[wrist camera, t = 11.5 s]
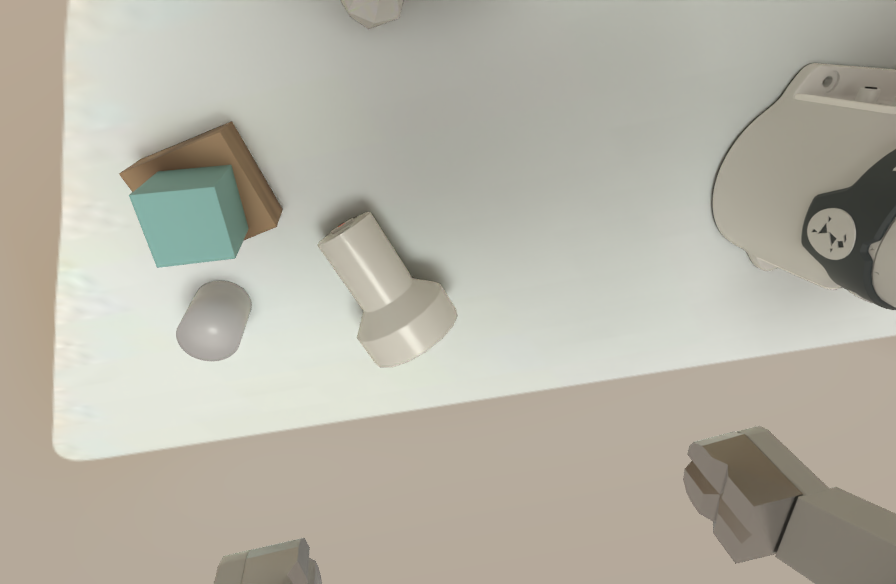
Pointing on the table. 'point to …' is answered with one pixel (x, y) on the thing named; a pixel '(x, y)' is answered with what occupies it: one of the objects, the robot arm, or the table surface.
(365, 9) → the toy
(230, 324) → the grey cylinder
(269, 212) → the brown square block
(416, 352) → the spotlight
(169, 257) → the teal cube
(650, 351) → the table surface
